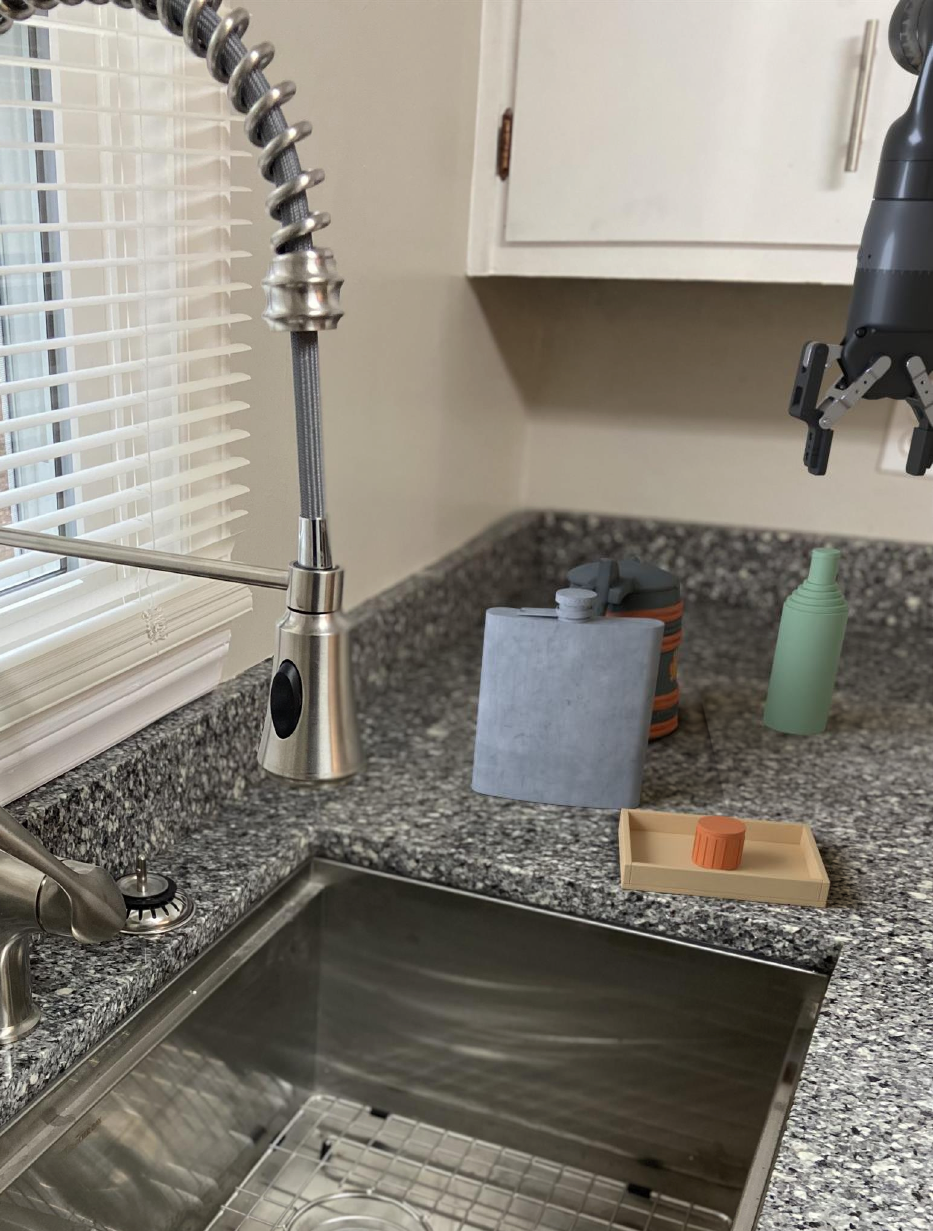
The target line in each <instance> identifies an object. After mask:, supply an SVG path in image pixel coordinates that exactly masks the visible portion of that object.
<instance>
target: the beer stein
mask: <svg viewBox="0 0 933 1231" xmlns="http://www.w3.org/2000/svg"><path fill="white" fill-rule="evenodd" d="M566 578H567V580H568V581H569V582H570V585H569V588H577V589H586V590H591V591H593V592H595V593H597V600H596V604H594V605H591V606H592V607H593V610H592V615H591V616H605V617H627V618H651V619H656V620H660V621H662V622H664V624H665V626H664V633H663V640H662V647H661V654H660V661H659V668H658V675H657V682H656V689H655V696H654V703H653V710H652V717H651V724H650V731H649V738H648V742H650V741H655V740H658V739H660V738H663V737H665V736H667V735H670V733H672V732H674V730H675V729H677V727H678V723H679V721H678V716H679V714H678V710H679V709H678V708H679V701H680V700H679V699H680V684H679V683H678V681H677V680H678V678H677V677H678V655H679V654H678V653H679V652H678V651H679V646H680V645H681V644H682V640H683V638H682V634H683V628H682V626H683V623H682V622H683V607H684V601H683V599H682V598H681V582H680V580H679V577H677V576H676V575H674V574H673V573H671V572H669V571H667V570H665V569H663V568H660V567H657V566H656V565H652V564H649V563H645V562H641V560H640V559H639V557H638V556H635V555H634V556H632V557H631V558H630V559H628V560H616V559H613V558H609V557H602V558H600V560H599V561H594V562H589V563H585V564H582V565H581V564H580V565H579V566H576V567H574V568H572V569H570V570H569V571H568V572H566Z"/></svg>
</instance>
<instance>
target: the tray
mask: <svg viewBox="0 0 933 1231" xmlns="http://www.w3.org/2000/svg"><path fill="white" fill-rule="evenodd" d="M705 816H708V815H707V814H706V815H705V814H697V813H695V814H693V813H683V812H671V811H659V810H646V809H636V808H633V809H624V808H622V809H620V817H619V825H618V830H617V832H618V846H619V847H618V848H619V867H620V868H619V869H620V886H621V889H622V890H631V891H641V892H650V893H651V892H653V893H664V894H673V895H684V896H693V897H705V898H716V899H725V900H737V901H747V902H757V903H766V904H767V903H768V904H777V905H779V904H780V905H788V904H790V906H801V907H809V906H811V908H821V909H825V908H826V906H827V902H828V897H829V891H830V887H831V881H830V878H829V875H828V872H827V870H826V867H825V864H824V861H823V859H822V855H821V852H820V851H819V848H818V845H817V842H816V839H815V836H814V834H813V831H812V827H811V826H810V824H809V823H801V822H787V821H777V820H763V819H754V818H741V817H733V818H734V819H737V820H739V821H741V822H743V823H744V824H745V826H746V832H745V841H744V846H743V852H742V857H741V863H740V865H739V867H738V868H736V869H734V870H730V871H725V870H714V869H705V868H703V867H700V866H698V865H697V864H695V863H694V862H693V860H692V851H693V845H694V839H695V833H696V827H697V824H698V820H699V819H700V818H702V817H705Z"/></svg>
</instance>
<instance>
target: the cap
mask: <svg viewBox="0 0 933 1231" xmlns="http://www.w3.org/2000/svg"><path fill="white" fill-rule="evenodd" d="M734 818H735V817H730V816H726V815H714V814H713V815H712V814H711V815H707V816H705V817H702V818H700V819H699V820H698V824H697V827H696V833H695V839H694V845H693V851H692V860H693V862H694V863H695V864H697V865H698V866H700V867H703V868H705V869H714V870H725V871H730V870H734V869H736V868H738V867H739V865H740V863H741V857H742V852H743V846H744V841H745V832H746V826H745V824H744V823H743V822H741V821H739V820H737V819H734Z"/></svg>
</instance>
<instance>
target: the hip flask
mask: <svg viewBox="0 0 933 1231" xmlns="http://www.w3.org/2000/svg"><path fill="white" fill-rule="evenodd" d="M596 600H597V593H595V592H593V591H591V590H586V589H577V588H570V587H568V588H561V589H557V591H556V593H555V602H556V603H558V604H559V605H556V607H555V608H548V607H547V608H545V607H543V608H542V607H521V608H513V607H508V606H507V607H506V606H494V607H491V608H487V609H486V611H485V620H484V621H485V622H484V623H485V624H484V633H483V635H484V636H483V647H482V657H481V658H482V659H481V671H480V682H479V695H478V705H477V719H476V728H475V729H476V731H475V741H474V742H475V743H474V754H473V766H472V777H471V778H472V779H471V789H472V790H473V791H474V792H476V793H477V794H482V795H486V796H491V797H496V798H497V797H498V798H504V799H510V800H517V801H522V802H528V803H530V802H531V803H538V804H546V805H547V804H548V805H555V806H567V807H577V808H590V809H591V808H592V809H606V810H607V809H608V810H609V809H610V810H621V809H622V808H624V809H636V808H638V807H639V806H640V800H641V794H642V787H643V780H644V772H645V766H646V758H647V752H648V745H649V741H648V738H649V731H650V724H651V717H652V710H653V703H654V696H655V689H656V682H657V675H658V668H659V661H660V654H661V647H662V640H663V633H664V626H665V624H664V622H662V621H660V620H656V619H651V618H627V617H605V616H591V615H592V610H593V607H592V606H591V605H594V604H596Z"/></svg>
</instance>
